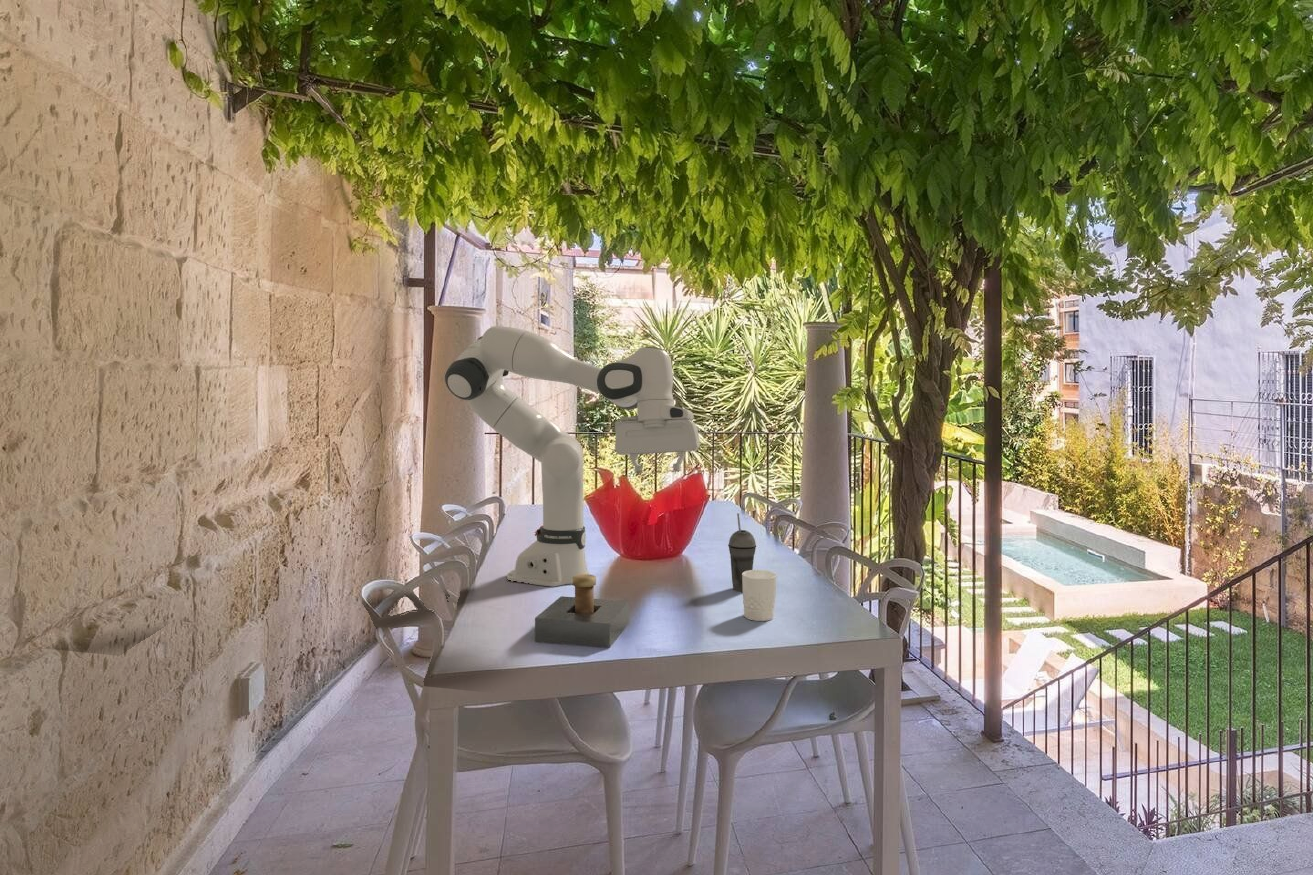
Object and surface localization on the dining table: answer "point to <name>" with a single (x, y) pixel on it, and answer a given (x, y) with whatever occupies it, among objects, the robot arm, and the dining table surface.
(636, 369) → the robot arm
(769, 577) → the white cup
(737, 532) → the beverage cup
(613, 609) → the hitch block
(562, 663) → the dining table surface
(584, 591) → the brass pin
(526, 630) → the dining table surface
